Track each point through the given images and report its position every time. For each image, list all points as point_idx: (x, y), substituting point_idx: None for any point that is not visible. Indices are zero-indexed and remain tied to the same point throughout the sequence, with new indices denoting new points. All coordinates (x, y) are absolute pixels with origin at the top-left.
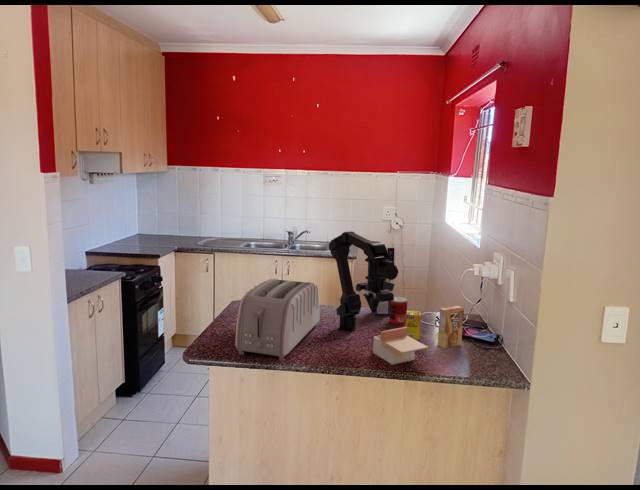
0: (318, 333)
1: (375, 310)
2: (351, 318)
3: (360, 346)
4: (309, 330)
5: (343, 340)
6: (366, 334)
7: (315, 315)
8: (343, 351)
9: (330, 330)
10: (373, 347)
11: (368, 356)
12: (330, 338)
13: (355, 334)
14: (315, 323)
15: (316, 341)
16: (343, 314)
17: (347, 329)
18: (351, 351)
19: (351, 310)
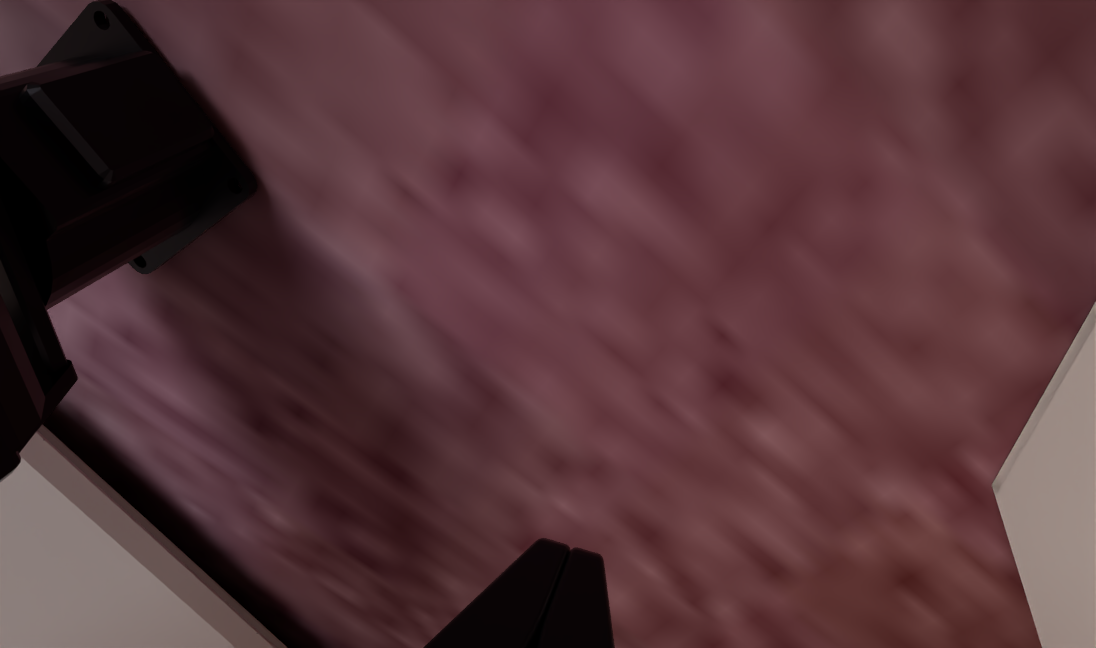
0: (213, 474)
1: (606, 627)
2: (77, 228)
3: (721, 441)
4: (233, 626)
5: (467, 443)
6: (419, 82)
7: (19, 599)
8: (710, 626)
9: (163, 346)
10: (1015, 543)
11: (1016, 581)
12: (365, 488)
13: (360, 213)
14: (92, 517)
15: (382, 601)
16: (43, 408)
17: (206, 217)
18: (765, 587)
19: (5, 387)
